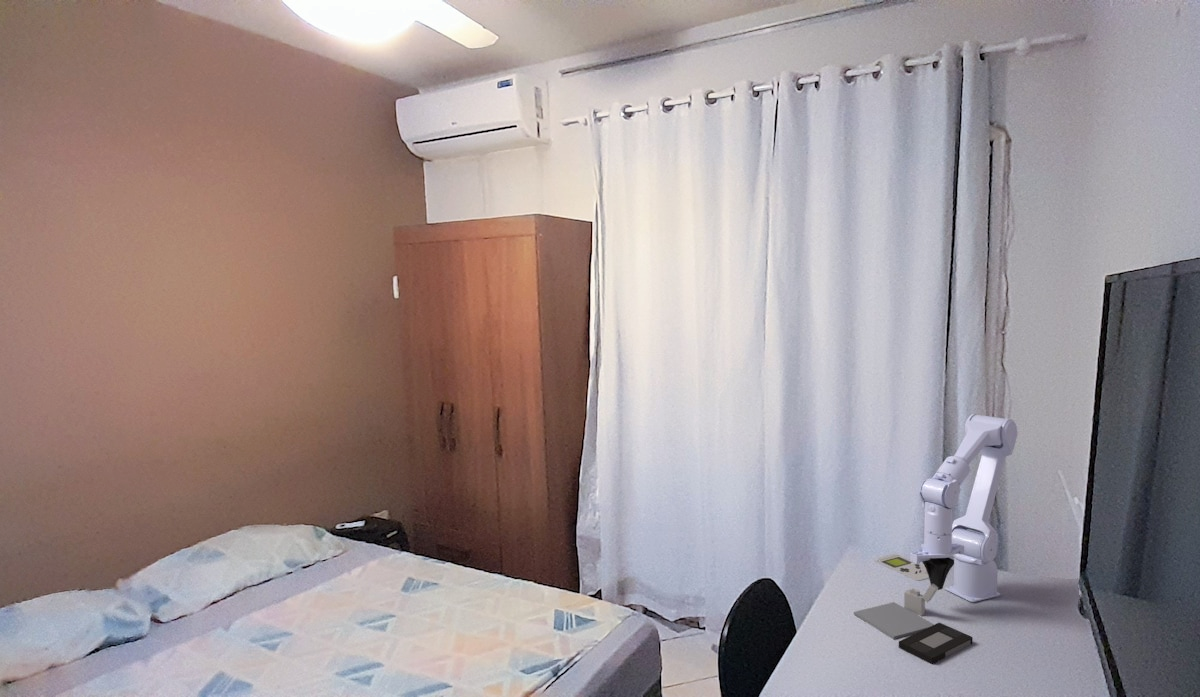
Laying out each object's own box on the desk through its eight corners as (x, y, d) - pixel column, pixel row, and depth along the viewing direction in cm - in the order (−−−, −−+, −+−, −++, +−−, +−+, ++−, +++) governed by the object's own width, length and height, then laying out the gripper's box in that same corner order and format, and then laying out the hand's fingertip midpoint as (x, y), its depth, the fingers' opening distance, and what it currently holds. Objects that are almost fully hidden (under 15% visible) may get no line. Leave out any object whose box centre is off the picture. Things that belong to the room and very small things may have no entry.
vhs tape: (972, 646, 140) (973, 637, 140) (932, 667, 133) (932, 658, 133) (939, 631, 147) (939, 622, 147) (898, 650, 140) (898, 641, 139)
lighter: (903, 609, 156) (904, 577, 155) (907, 607, 157) (907, 574, 156) (934, 621, 150) (935, 587, 149) (938, 618, 151) (938, 584, 150)
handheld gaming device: (918, 579, 170) (871, 558, 184) (918, 582, 170) (871, 561, 184) (941, 572, 174) (895, 552, 188) (941, 575, 174) (895, 555, 188)
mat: (894, 604, 158) (894, 602, 158) (935, 627, 147) (935, 625, 147) (853, 614, 154) (853, 611, 154) (893, 639, 143) (893, 636, 143)
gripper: (946, 520, 160) (945, 575, 161) (900, 530, 155) (899, 586, 156) (972, 530, 153) (971, 587, 154) (924, 540, 148) (923, 599, 149)
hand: (936, 587), depth 155 cm, fingers closed
